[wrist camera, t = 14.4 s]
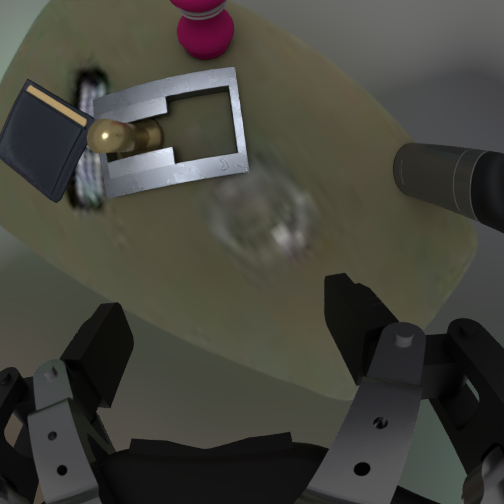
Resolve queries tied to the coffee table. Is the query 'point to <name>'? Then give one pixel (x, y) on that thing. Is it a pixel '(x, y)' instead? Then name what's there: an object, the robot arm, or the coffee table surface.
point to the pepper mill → (204, 27)
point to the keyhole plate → (163, 161)
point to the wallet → (44, 139)
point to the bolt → (125, 137)
